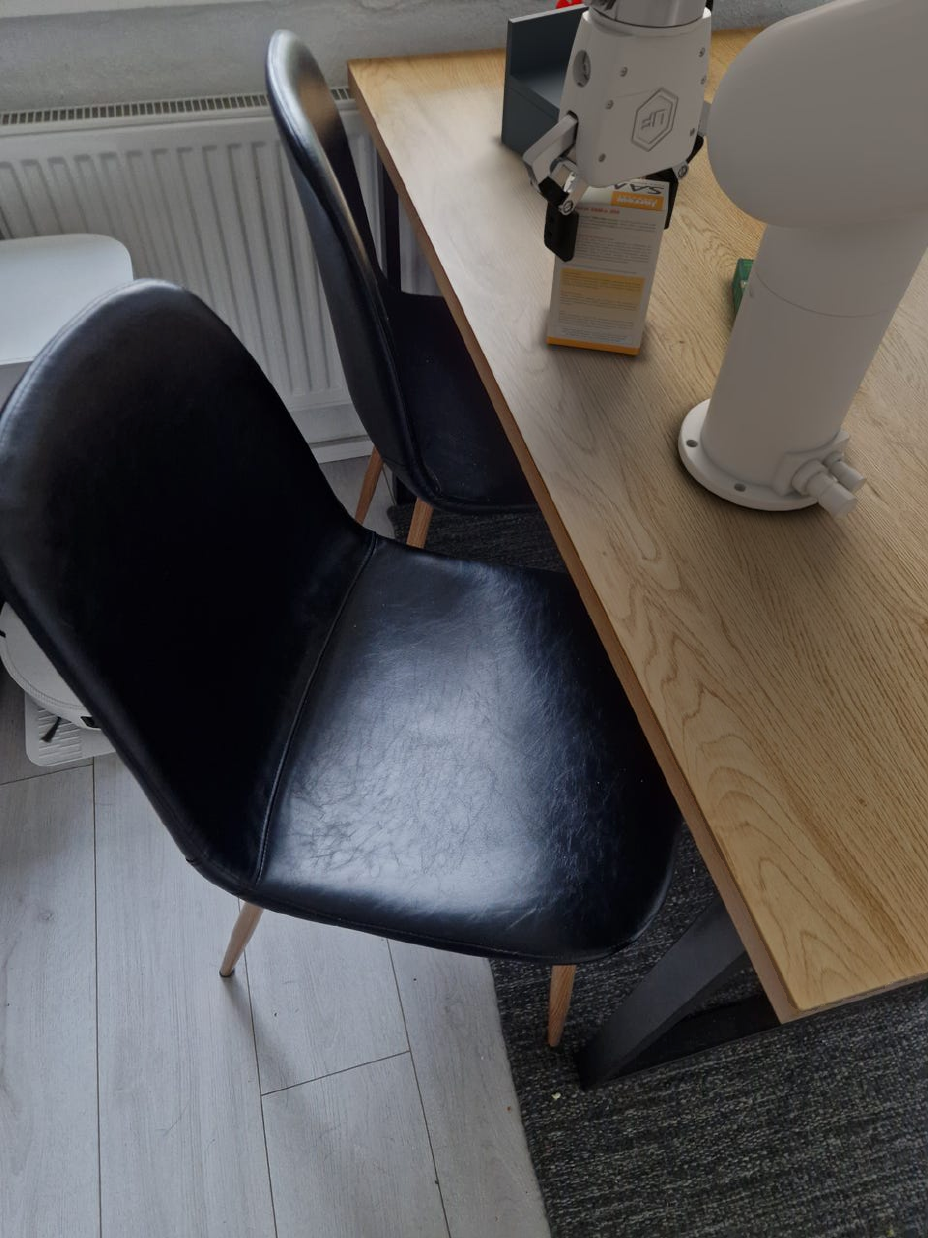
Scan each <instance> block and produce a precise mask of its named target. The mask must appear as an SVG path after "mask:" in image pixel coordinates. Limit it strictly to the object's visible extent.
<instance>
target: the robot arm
mask: <svg viewBox="0 0 928 1238" xmlns="http://www.w3.org/2000/svg"><path fill="white" fill-rule="evenodd" d="M706 1H707V0H582V2H583V4H584V5H585V6H589V10H588V11H586V12H584V13H583V14H582V17H581V20H580V24H579V27H578V30H577V34H576V37H575V41H574V44H573V48H572V52H571V56H570V60H569V65H568V69H567V74H566V78H565V83H564V88H563V94H562V100H561V106H560V112H559V120H558V123H557V124H556V125H555V126H554V127H553V128H552V129H551V130H549V131H548V132H547V133H546V134H545V135H544V136H543V137H542V138H540V139H539V140H538V141H537V142H536V143H535V144H534V145H532V146H531V147H530V148H529V149H528V150H527V151H526V152H525V153H524V155H523V157H521V158H522V164H523V166H524V168H525V171H526V173H527V175H528V178H529V179H530V180H529V183H530V185H531V187H532V188H533V189H534V190H535V191H536V192H537V193H538V194H539V195H540V196H541V198H543V199H544V200H545V201H546V211H545V220H544V227H543V228H544V229H543V244H544V246H545V247H546V248H547V249H548V250H549V251H550V252H552V253H553V254H554V256H555V255H556V256H557V257H559V258H560V259H561V260H562V261H563V262H568V261H571V260H572V258H573V257H574V251H575V244H576V237H577V230H578V223H579V213H578V212H577V211H576V210H575V209H574V208H575V206H576V205H577V203H578V202H579V200H580V199H581V197H582V196H583V194H584V193H585V192H586V190H587V189H588V187H589V186H591V187H593V188H604V187H609V186H612V185H616V184H619V183H623V182H626V181H630V180H633V179H641V178H643V177H644V180H652V181H661V182H669V194H668V211H667V217H666V221H665V226H664V231H665V230H668V229H669V228H670V224H671V219H672V215H673V211H674V206H675V202H676V199H677V198H676V197H677V193H678V189H679V185H680V182H679V181H681V180H683V179H684V178H686V176H687V175H688V174H689V170H690V166H689V165H690V163H691V162H692V161H693V160H694V158H695V157H696V155H697V154H698V153H699V152H700V151H701V149H702V148H703V145H704V143H705V139H704V137H706V151H707V156H708V162H709V166H710V168H711V172H712V174H713V176H714V178H715V181H716V182H717V184H718V186H719V187H720V189H721V190H722V192H723V194H724V195H725V196H726V197H727V198H728V199H729V201H730V202H731V203H732V204H733V205H735V207H737V208H738V209H739V210H740V211H742V212H743V213H744V214H746V215H747V216H749V217H751V218H752V219H755V220H757V221H759V222H761V223H765V228H764V229H763V233H762V236H761V239H760V242H759V245H758V248H757V251H756V254H755V256H754V258H753V259H754V262H753V265H752V269H751V272H750V275H749V278H748V281H747V285H746V288H745V291H744V294H743V297H742V301H741V304H740V307H739V310H738V313H737V317H736V316H735V320H734V323H733V326H732V330H731V332H730V336H729V339H728V342H727V345H726V349H725V352H724V355H723V358H722V360H721V361H722V362H721V365H720V368H719V371H718V374H717V378H716V381H715V384H714V387H713V390H712V394H711V396H710V397H709V398H707V399H705V400H703V401H701V402H699V403H698V404H697V405H695V406H694V407H692V408H691V410H689V411H688V413H687V414H686V416H685V417H684V419H683V421H682V423H681V426H680V430H679V434H678V437H677V447H678V449H677V450H678V452H679V456H680V459H681V461H682V463H683V465H684V467H685V468H686V470H687V472H688V473H689V474H690V475H691V476H692V477H693V478H694V479H695V480H696V481H697V482H698V483H699V484H700V485H702V486H703V487H704V488H706V489H707V490H708V491H710V492H711V493H713V494H715V496H716V495H717V496H718V497H720V498H722V499H724V500H726V501H729V502H730V503H732V504H733V503H734V504H736V505H739V506H743V507H747V508H751V509H755V510H762V511H770V512H771V511H772V512H773V511H775V512H777V511H779V512H780V511H792V510H800V509H803V508H806V507H809V506H812V505H815V504H817V503H818V505H819V506H820V507H822V508H823V509H824V510H825V511H826V512H827V513H829V514H830V515H831V516H832V517H833V518H834V519H836V520H842V519H843V518H844V517H846V516H848V515H849V514H850V512H852V511H853V510H854V508H855V507H856V506H857V504H858V501H859V500H858V497H856V496H855V495H854V494H857V492H859V491H860V490H862V489H863V487H865V484H866V483H867V481H868V479H867V477H865V476H864V475H863V474H861V473H860V472H859V471H858V470H857V469H855V468H854V467H851V466H850V465H849V464H848V463H846V462H845V461H846V457H845V453H844V452H845V450H846V448H847V446H848V445H849V442H850V440H851V438H852V436H851V434H850V433H848V431H846V430H845V429H844V428H842V425H843V423H844V421H845V419H846V416H847V414H848V412H849V410H850V408H851V406H852V404H853V401H854V400H855V398H856V395H857V394H858V391H859V389H860V387H861V385H862V383H863V381H864V379H865V377H866V375H867V373H868V370H869V368H870V366H871V364H872V362H873V360H874V357H875V355H876V353H877V351H878V349H879V347H880V345H881V343H882V341H883V339H884V337H885V335H886V333H887V331H888V328H889V326H890V325H891V322H892V320H893V318H894V316H895V313H896V311H897V309H898V307H899V305H900V304H901V301H902V299H903V298H904V296H905V294H906V292H907V290H908V288H909V286H910V284H911V281H912V279H913V277H914V275H915V273H916V271H917V269H918V267H919V265H920V262H921V261H922V259H923V258H924V255H925V254H926V251H927V249H928V0H833V1H831V2H828V3H824V4H822V5H820V6H817V7H814V8H811V9H808V10H806V11H803V12H802V11H801V12H800V13H796V14H794V15H791V16H788V17H785V18H783V19H780V20H778V21H776V22H775V23H773V24H771V25H770V26H768V27H766V28H765V29H764V30H762V31H761V32H759V33H758V34H757V35H756V36H754V37H753V38H751V40H750V41H749V42H747V44H745V45H744V47H743V48H742V49H741V50H740V51H739V52H738V54H736V56H735V58H734V59H733V60H732V61H731V63H730V64H729V65H728V67H727V69H726V71H725V72H724V74H723V76H722V78H721V80H720V81H719V84H718V85H717V88H716V89H715V93H714V96H713V99H712V101H711V103H710V102H708V101H707V100H706V99H705V95H706V94H705V93H706V88H707V87H706V86H707V80H708V73H709V65H710V57H711V56H710V55H711V45H712V44H711V41H712V13H711V12H710V11H709V9H707V8H706V7H705V5H706ZM556 158H557V161H558V162H559V163H558V164H557V166H556V168H555V169H554V171H553V172H552V174H551V171H550V165H551V163H552V162H553V161H554V160H555V159H556ZM571 173H574V174H575V175H576V177H575V178H574V180H573V181H572V183H571V184H570V186H569V187H568V189H567V190H566V192H565V191H564V187H563V185H564V184H565V182H566V181H567V179H568V178H569V176H570V175H571ZM562 187H563V188H562Z"/></svg>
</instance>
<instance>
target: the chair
mask: <svg viewBox="0 0 928 1238" xmlns="http://www.w3.org/2000/svg"><path fill="white" fill-rule="evenodd" d="M588 10H589V6H585V5H584V4H579V5H574V6H569V7H565V8H560V9H556V8H555V9H551V10H547V11H542V12H538V13H532V14H527V15H523V16H518V17H514V18H509V19H507V29H506V45H505V62H504V63H505V64H504V82H503V96H502V113H501V129H500V131H501V132H500V133H501V134H500V141H501V142H502V143H503V144H504V145H506V146H507V147H508V148H509V149H511V150H512V151H514V152H515V153H516V154H518V155H519V156H520V157H521V158H523V155H524V153H525V152H526V151H527V150H528V149H529V148H530V147H531V146H532V145H534V144H535V143H536V142H537V141H538V140H539V139H540V138H542V137H543V136H544V135H545V134H546V133H547V132H548V131H549V130H551V129H552V128H553V127H554V126H555V125H556V124H557V123H558V120H559V112H560V106H561V100H562V94H563V88H564V83H565V78H566V74H567V69H568V65H569V60H570V56H571V52H572V48H573V44H574V41H575V37H576V34H577V30H578V27H579V24H580V20H581V17H582V14H583V13H584V12H586V11H588ZM558 163H559V162H558V161H557V158H556V159H555V160H554V161H553V162H552V163H551V165H550V171H551V174H552V172H553V171H554V169H555V168H556V166H557V164H558ZM565 183H566V182H565ZM564 187H565V184H564V185H563V187H562V189H564Z"/></svg>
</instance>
